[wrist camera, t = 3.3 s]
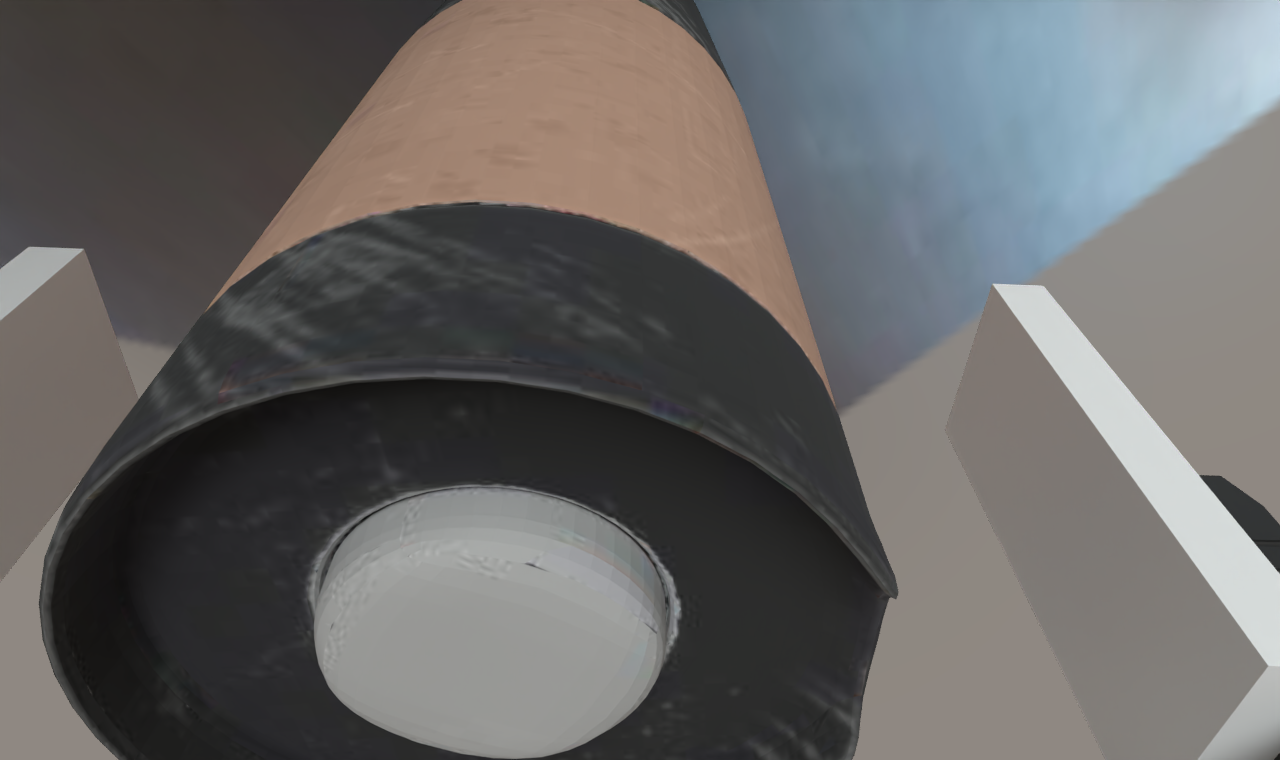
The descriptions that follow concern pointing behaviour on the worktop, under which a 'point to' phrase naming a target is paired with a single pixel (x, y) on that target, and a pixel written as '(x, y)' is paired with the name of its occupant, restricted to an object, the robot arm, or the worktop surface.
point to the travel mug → (490, 440)
